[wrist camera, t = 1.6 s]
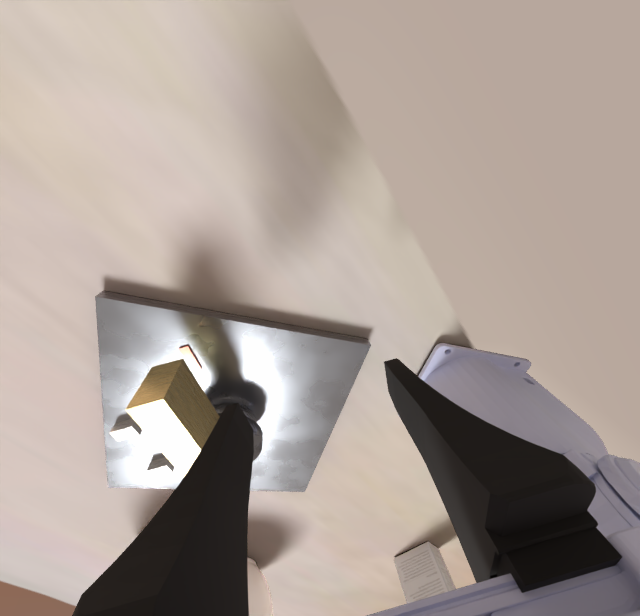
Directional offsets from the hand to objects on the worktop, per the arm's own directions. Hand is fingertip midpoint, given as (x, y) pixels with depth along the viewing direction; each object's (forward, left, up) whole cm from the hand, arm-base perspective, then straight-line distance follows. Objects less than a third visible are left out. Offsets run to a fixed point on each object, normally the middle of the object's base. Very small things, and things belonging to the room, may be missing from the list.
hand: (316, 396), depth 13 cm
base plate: (+4, +9, -7) cm, 12 cm away
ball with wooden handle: (+5, +7, -4) cm, 9 cm away
